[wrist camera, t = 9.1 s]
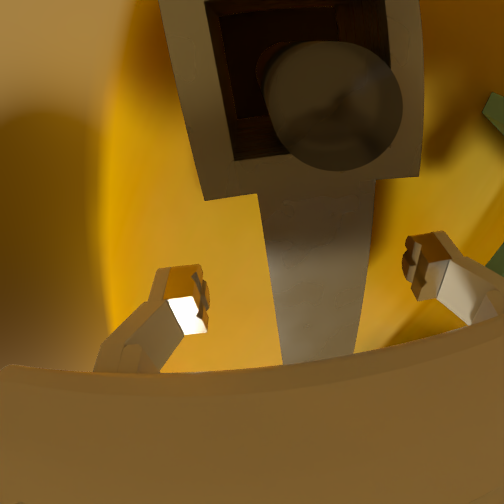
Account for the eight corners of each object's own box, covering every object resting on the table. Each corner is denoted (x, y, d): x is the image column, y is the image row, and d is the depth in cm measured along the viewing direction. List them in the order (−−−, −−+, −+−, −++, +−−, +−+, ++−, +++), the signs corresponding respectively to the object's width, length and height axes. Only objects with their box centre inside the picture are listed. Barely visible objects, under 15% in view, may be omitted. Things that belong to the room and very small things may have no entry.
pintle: (317, 39, 8) (400, 44, 4) (323, 99, 10) (400, 166, 5) (251, 45, 8) (260, 46, 4) (260, 105, 10) (278, 178, 5)
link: (186, -1, 7) (154, -23, 4) (356, -15, 7) (413, -34, 4) (253, 312, 16) (255, 379, 13) (357, 297, 16) (377, 360, 13)
